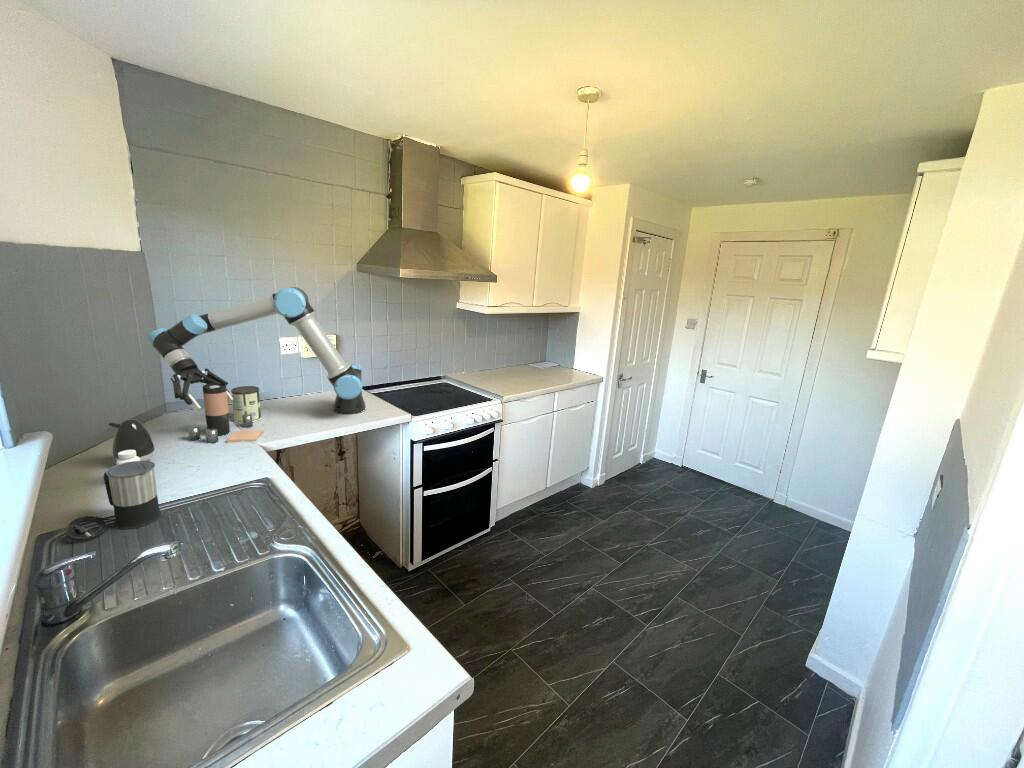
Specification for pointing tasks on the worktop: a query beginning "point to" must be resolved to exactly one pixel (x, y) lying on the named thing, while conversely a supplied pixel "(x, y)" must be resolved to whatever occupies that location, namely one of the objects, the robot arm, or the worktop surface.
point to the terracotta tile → (245, 436)
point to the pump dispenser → (132, 439)
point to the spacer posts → (215, 430)
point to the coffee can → (246, 403)
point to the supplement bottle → (127, 456)
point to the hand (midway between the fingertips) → (215, 405)
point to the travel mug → (216, 407)
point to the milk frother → (124, 499)
